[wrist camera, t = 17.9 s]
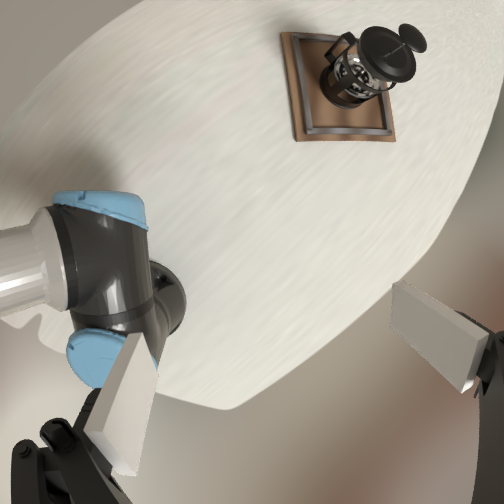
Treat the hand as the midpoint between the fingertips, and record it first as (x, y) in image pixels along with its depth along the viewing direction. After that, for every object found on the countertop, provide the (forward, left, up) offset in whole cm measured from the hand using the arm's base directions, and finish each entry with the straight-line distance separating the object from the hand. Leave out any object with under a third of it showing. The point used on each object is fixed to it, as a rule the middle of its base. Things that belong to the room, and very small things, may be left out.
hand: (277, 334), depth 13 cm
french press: (+21, +24, -35) cm, 48 cm away
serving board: (+21, +24, -36) cm, 49 cm away
